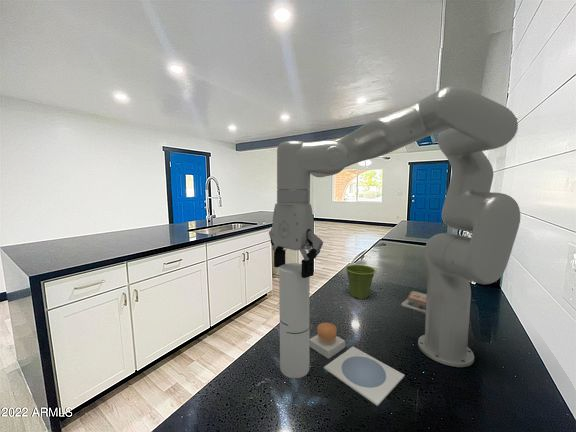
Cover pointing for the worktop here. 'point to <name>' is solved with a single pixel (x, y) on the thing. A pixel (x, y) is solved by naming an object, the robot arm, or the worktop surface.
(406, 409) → the worktop surface
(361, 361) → the white flat plate
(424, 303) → the packaged product
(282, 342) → the cylindrical container
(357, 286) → the plant pot
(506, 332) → the worktop surface
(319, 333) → the button
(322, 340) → the button housing
